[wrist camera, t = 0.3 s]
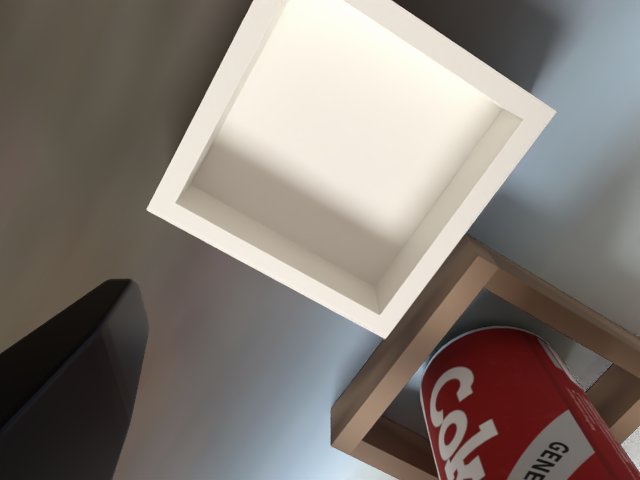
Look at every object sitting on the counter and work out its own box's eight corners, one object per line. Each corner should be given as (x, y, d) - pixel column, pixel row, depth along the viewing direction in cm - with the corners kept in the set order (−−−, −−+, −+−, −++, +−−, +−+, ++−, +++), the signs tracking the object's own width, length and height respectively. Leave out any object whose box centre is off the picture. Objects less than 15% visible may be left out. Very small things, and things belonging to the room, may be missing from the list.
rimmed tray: (379, 303, 25) (385, 339, 22) (168, 187, 23) (146, 210, 20) (527, 100, 22) (556, 111, 19) (294, -57, 20) (288, -69, 17)
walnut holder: (507, 498, 29) (522, 539, 27) (330, 409, 27) (330, 445, 25) (654, 347, 26) (686, 379, 23) (463, 232, 24) (478, 255, 21)
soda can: (558, 308, 25) (743, 538, 14) (559, 426, 28) (716, 703, 16) (410, 327, 26) (474, 565, 14) (423, 442, 28) (486, 721, 17)
